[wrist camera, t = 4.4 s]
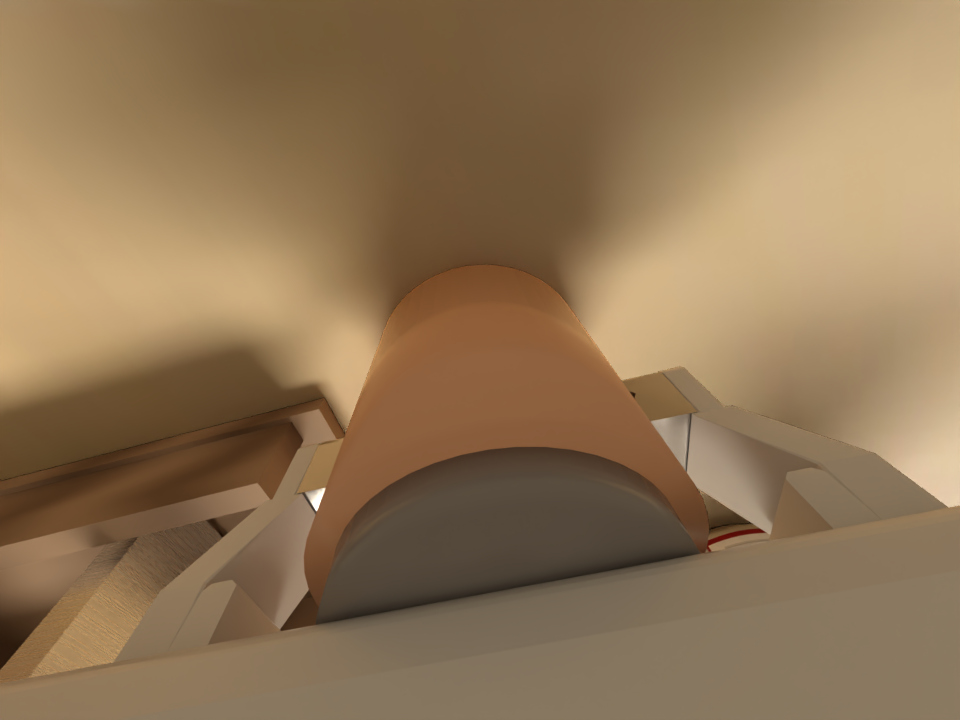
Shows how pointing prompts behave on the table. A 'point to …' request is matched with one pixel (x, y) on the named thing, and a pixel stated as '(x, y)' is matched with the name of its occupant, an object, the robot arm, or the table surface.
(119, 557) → the block
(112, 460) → the tray
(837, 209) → the table surface
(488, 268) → the jar
